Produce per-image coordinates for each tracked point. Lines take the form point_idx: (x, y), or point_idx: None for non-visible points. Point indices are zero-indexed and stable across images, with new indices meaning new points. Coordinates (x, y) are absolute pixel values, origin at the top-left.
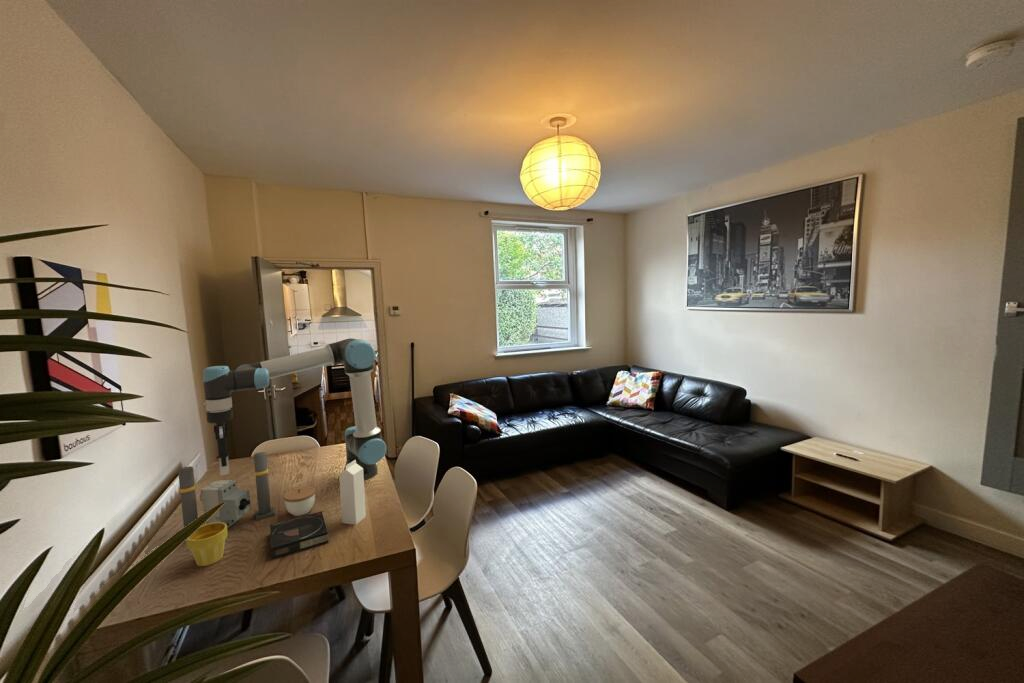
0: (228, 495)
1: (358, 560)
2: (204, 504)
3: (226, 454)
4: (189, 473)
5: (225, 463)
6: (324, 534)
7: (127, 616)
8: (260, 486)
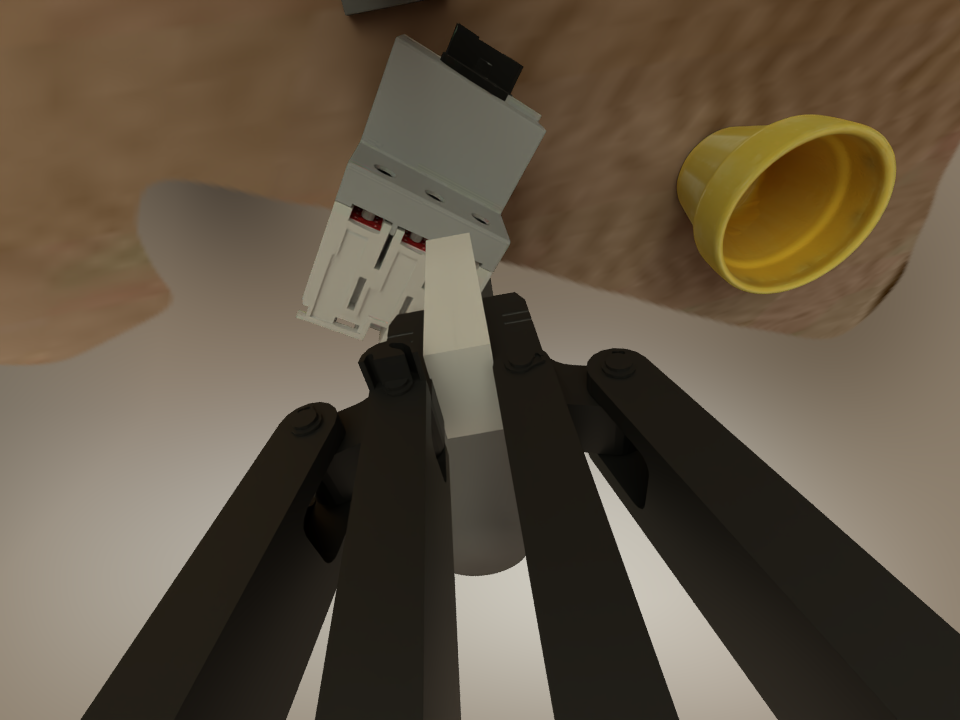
0: (450, 189)
1: None
2: None
3: (659, 381)
4: (513, 502)
5: (527, 318)
6: None
7: (847, 319)
8: None
